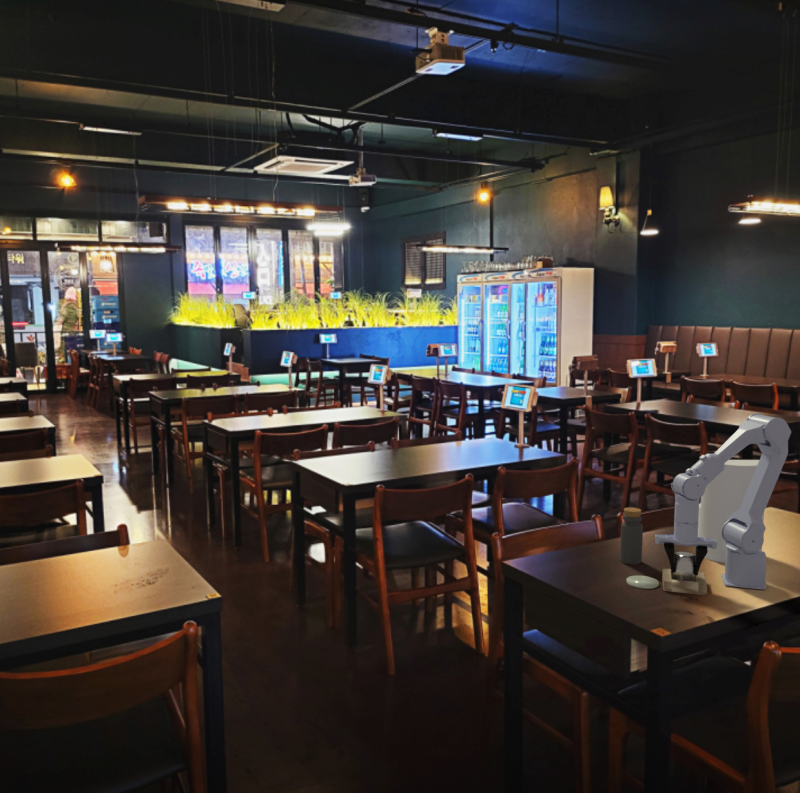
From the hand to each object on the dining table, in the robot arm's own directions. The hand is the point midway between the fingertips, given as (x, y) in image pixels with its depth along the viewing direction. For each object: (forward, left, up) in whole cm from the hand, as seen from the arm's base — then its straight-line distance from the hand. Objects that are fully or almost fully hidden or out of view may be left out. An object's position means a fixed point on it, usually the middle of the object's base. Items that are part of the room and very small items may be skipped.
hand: (684, 572), depth 186 cm
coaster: (+10, +1, -3) cm, 11 cm away
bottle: (+13, -16, -4) cm, 21 cm away
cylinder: (-14, -31, -4) cm, 34 cm away
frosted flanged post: (0, 0, -3) cm, 3 cm away
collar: (0, 0, -3) cm, 3 cm away
